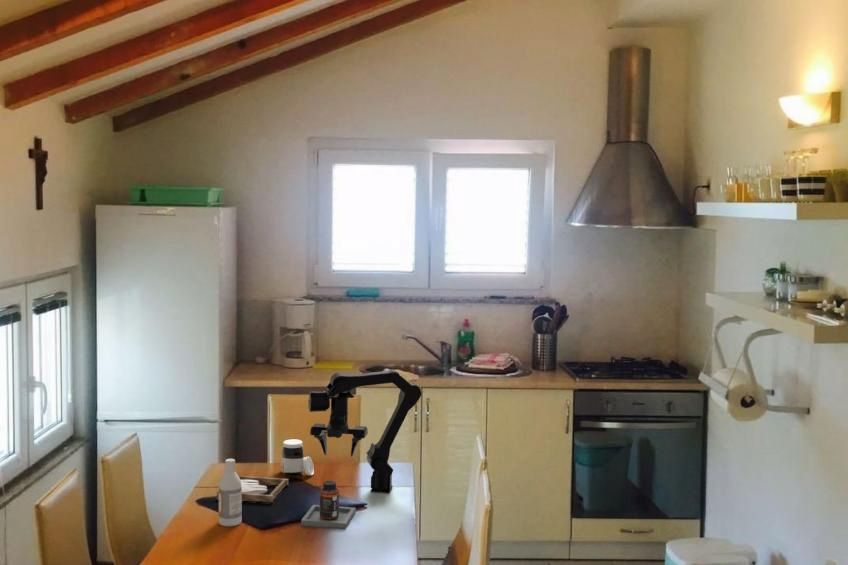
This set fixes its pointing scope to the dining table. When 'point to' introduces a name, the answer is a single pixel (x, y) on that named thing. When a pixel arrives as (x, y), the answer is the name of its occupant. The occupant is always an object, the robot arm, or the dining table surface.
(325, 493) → the supplement bottle
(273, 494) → the frame
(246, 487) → the salt and pepper shakers
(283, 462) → the spread jar
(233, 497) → the bath foam
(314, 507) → the tray
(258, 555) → the dining table surface
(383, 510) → the dining table surface
